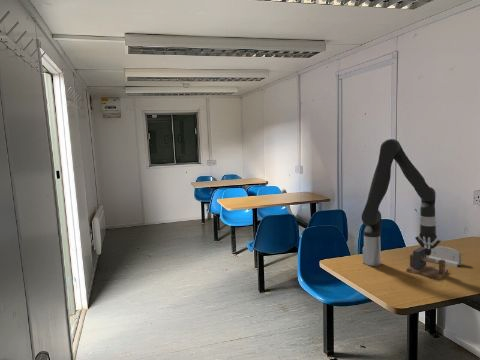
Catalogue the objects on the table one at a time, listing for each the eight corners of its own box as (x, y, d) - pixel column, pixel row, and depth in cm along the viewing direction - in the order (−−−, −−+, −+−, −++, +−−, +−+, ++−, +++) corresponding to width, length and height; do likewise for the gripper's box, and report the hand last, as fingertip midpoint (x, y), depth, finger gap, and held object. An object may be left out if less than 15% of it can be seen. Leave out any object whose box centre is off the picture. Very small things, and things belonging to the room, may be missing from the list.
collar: (413, 268, 188) (413, 251, 187) (420, 263, 195) (420, 246, 194) (418, 269, 186) (418, 252, 185) (426, 264, 193) (426, 247, 192)
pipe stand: (406, 271, 190) (406, 256, 189) (415, 265, 198) (415, 251, 197) (440, 279, 177) (440, 263, 177) (448, 272, 185) (448, 257, 184)
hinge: (427, 260, 206) (430, 243, 207) (431, 260, 208) (433, 244, 209) (457, 267, 192) (460, 249, 193) (461, 268, 194) (463, 250, 195)
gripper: (412, 223, 187) (412, 254, 189) (438, 227, 177) (438, 259, 179) (417, 221, 192) (418, 251, 194) (443, 224, 182) (444, 255, 184)
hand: (428, 255), depth 186 cm, fingers closed
